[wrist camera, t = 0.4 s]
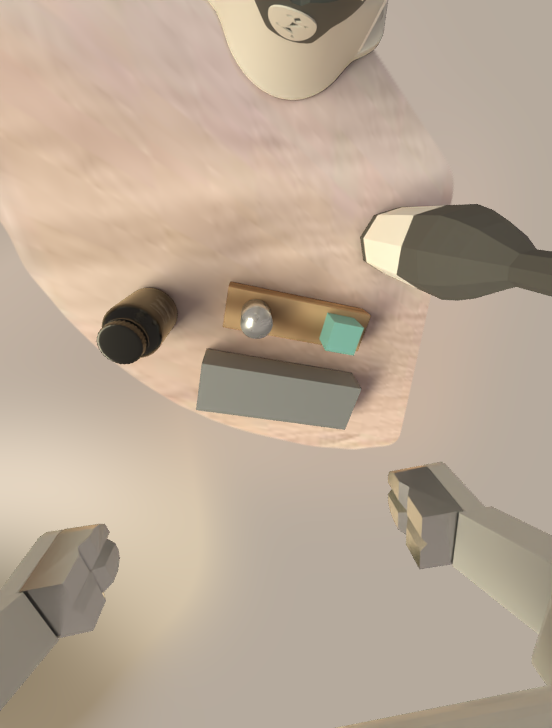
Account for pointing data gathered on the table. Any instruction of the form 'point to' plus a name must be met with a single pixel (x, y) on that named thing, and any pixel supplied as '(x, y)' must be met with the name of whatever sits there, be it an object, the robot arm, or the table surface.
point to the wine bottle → (455, 251)
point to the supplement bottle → (136, 326)
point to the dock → (276, 390)
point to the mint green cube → (340, 334)
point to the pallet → (289, 312)
